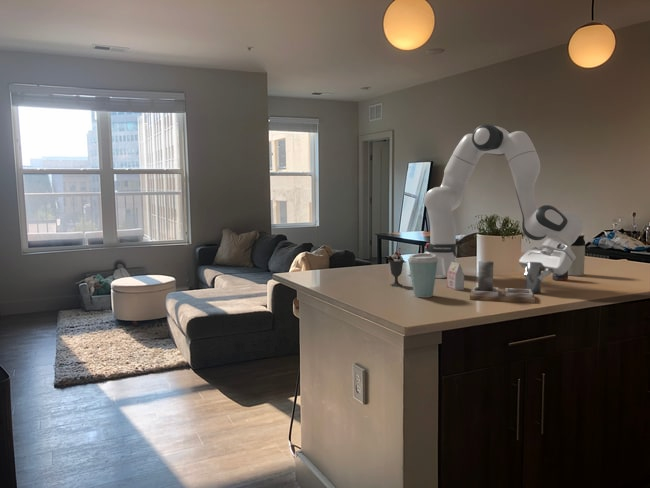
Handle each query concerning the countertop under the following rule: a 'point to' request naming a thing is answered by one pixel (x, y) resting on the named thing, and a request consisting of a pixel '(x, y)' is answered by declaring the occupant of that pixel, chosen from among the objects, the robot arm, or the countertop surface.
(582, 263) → the travel mug
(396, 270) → the sundae
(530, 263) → the loose pin
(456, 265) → the milk carton
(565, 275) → the supplement bottle
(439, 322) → the countertop surface
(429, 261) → the disposable coffee cup
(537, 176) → the robot arm
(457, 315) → the countertop surface
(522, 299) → the board
